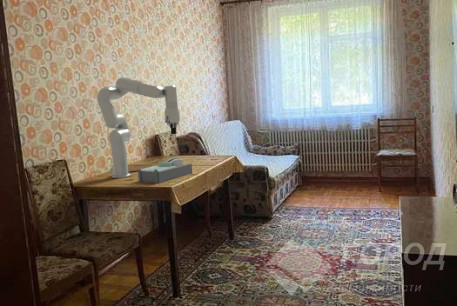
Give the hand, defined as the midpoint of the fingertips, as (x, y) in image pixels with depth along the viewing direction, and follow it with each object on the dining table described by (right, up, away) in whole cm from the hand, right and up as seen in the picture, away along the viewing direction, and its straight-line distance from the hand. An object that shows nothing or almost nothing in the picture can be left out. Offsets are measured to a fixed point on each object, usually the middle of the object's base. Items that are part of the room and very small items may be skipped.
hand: (173, 133), depth 280 cm
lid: (-8, -22, -13) cm, 27 cm away
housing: (-4, -28, -6) cm, 29 cm away
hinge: (-3, -25, +25) cm, 35 cm away
